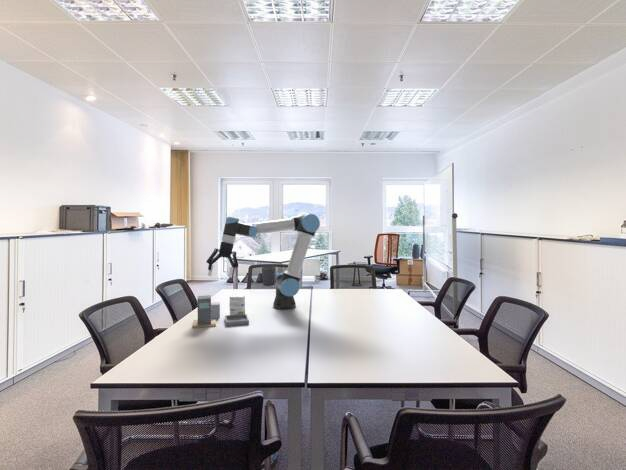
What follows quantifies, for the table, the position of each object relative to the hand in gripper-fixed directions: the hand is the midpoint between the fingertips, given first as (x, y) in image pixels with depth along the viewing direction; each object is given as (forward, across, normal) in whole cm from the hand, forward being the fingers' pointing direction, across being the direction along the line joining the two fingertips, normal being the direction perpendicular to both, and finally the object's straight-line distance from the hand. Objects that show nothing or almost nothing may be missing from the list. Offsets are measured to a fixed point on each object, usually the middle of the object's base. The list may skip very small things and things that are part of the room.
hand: (219, 276), depth 204 cm
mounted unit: (+26, +9, +11) cm, 29 cm away
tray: (+22, -6, +19) cm, 29 cm away
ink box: (+22, -14, +6) cm, 26 cm away
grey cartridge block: (+24, -3, +1) cm, 24 cm away
